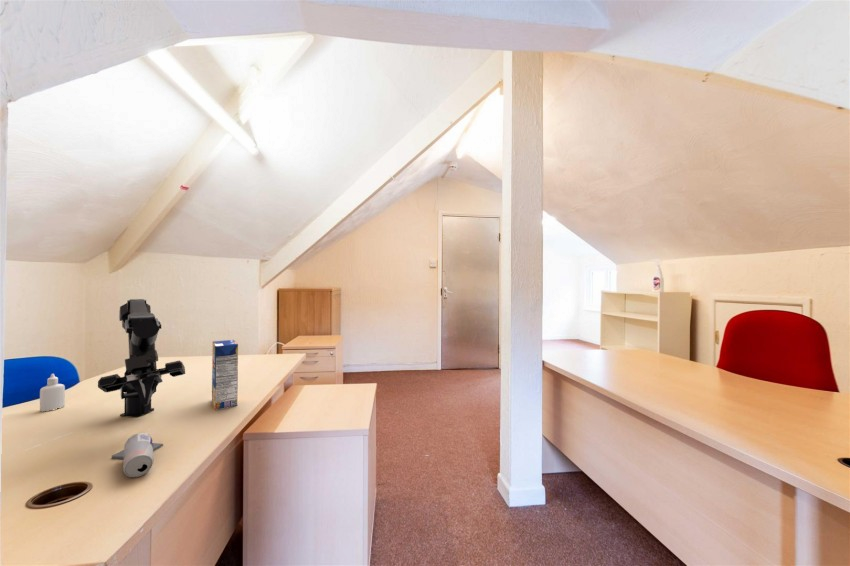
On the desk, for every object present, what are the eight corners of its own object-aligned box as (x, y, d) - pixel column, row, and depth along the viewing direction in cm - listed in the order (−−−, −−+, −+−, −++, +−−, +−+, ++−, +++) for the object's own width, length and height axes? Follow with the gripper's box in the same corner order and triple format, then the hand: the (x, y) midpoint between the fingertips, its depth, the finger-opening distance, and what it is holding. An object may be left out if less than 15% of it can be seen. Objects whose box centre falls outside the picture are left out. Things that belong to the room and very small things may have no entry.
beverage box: (214, 410, 116) (215, 346, 116) (211, 400, 125) (212, 341, 125) (237, 405, 120) (238, 344, 120) (232, 397, 129) (233, 339, 129)
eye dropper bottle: (41, 409, 115) (42, 373, 115) (65, 405, 118) (66, 371, 118) (38, 413, 111) (38, 376, 111) (63, 409, 115) (63, 374, 115)
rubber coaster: (111, 458, 84) (111, 455, 84) (138, 444, 92) (138, 442, 92) (138, 459, 84) (138, 457, 84) (162, 445, 91) (162, 443, 91)
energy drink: (136, 457, 86) (136, 482, 77) (118, 445, 83) (116, 470, 74) (157, 440, 88) (159, 462, 79) (140, 427, 86) (141, 449, 77)
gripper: (89, 351, 90) (89, 409, 83) (175, 335, 99) (180, 386, 93) (105, 365, 98) (105, 418, 92) (183, 349, 107) (188, 397, 101)
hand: (145, 404), depth 94 cm, fingers closed
